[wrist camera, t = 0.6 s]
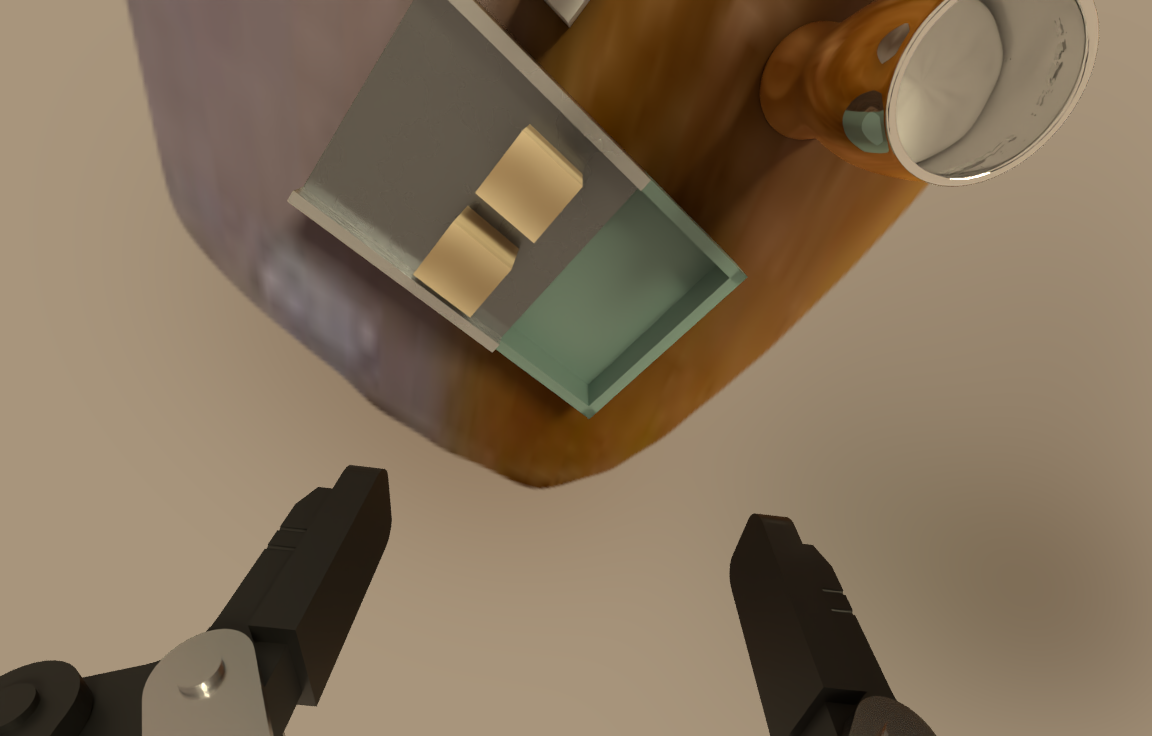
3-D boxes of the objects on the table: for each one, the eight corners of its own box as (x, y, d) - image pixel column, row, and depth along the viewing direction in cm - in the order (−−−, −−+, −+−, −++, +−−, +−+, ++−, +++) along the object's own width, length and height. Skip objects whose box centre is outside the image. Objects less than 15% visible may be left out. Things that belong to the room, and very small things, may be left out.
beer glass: (826, 164, 32) (995, 220, 19) (730, 120, 31) (839, 150, 18) (897, 42, 29) (1160, 10, 16) (793, -11, 28) (983, -94, 14)
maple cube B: (467, 205, 30) (453, 221, 27) (519, 248, 32) (511, 269, 28) (431, 253, 32) (413, 274, 29) (481, 292, 33) (470, 317, 30)
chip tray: (643, 168, 32) (649, 177, 29) (733, 260, 35) (747, 277, 32) (500, 326, 38) (493, 347, 35) (588, 393, 41) (589, 418, 38)
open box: (449, -27, 27) (429, -44, 24) (643, 168, 32) (651, 180, 29) (319, 187, 33) (287, 201, 29) (500, 326, 38) (492, 352, 34)
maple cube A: (529, 124, 28) (522, 130, 25) (582, 174, 30) (582, 186, 26) (487, 179, 30) (475, 192, 26) (539, 225, 31) (533, 243, 28)
